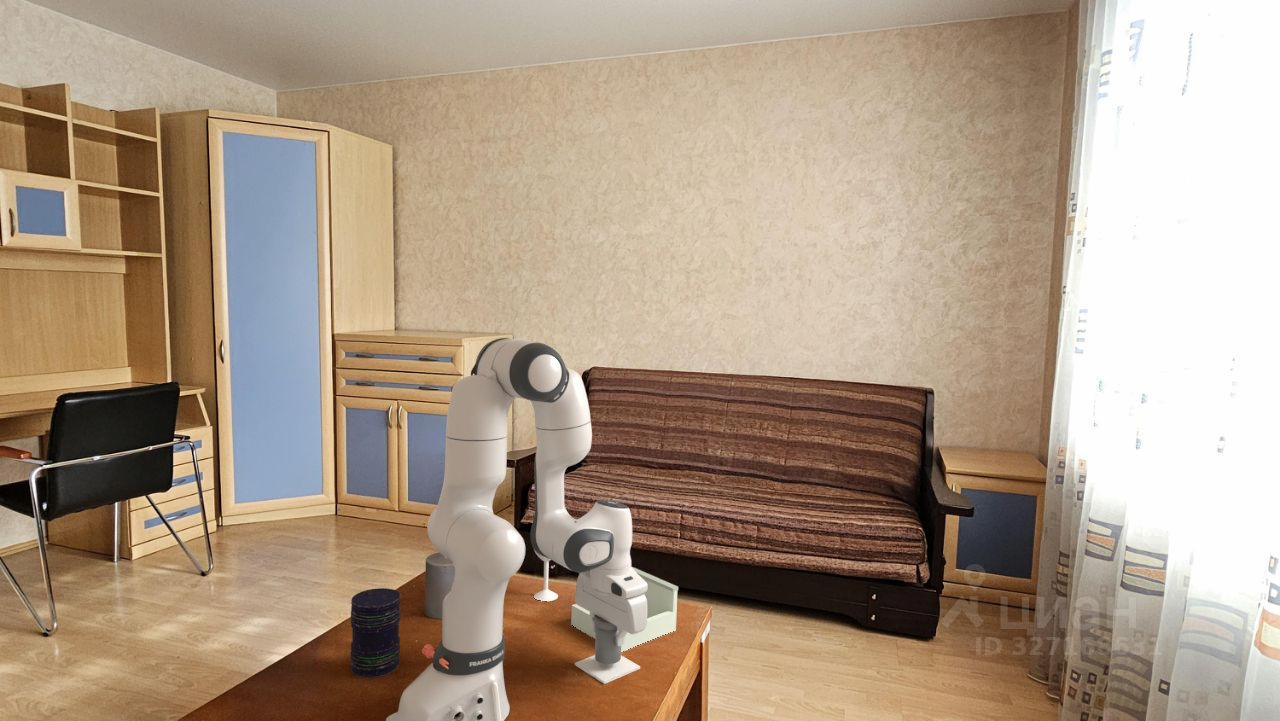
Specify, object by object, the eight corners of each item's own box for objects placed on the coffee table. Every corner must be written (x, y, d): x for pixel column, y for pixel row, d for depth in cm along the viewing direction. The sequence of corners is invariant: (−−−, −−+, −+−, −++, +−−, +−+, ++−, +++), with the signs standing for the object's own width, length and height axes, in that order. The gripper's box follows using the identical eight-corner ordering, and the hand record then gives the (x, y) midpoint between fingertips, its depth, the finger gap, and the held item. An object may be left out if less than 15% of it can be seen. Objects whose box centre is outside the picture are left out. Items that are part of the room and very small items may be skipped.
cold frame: (619, 653, 158) (620, 606, 157) (571, 625, 171) (572, 581, 171) (676, 630, 170) (678, 586, 170) (627, 605, 184) (628, 565, 183)
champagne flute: (563, 596, 188) (565, 508, 187) (544, 603, 183) (547, 513, 181) (546, 589, 193) (548, 503, 191) (527, 596, 187) (529, 507, 186)
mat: (604, 684, 145) (604, 681, 145) (574, 665, 152) (574, 662, 152) (640, 668, 151) (640, 666, 151) (610, 651, 159) (610, 649, 159)
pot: (605, 668, 147) (607, 626, 147) (587, 656, 152) (588, 615, 151) (628, 658, 151) (630, 618, 151) (609, 647, 156) (611, 608, 156)
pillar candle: (422, 606, 179) (422, 548, 178) (460, 600, 183) (461, 544, 182) (427, 622, 171) (428, 562, 169) (468, 616, 175) (469, 557, 173)
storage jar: (410, 663, 151) (411, 595, 150) (371, 683, 142) (372, 611, 141) (378, 650, 156) (379, 584, 155) (339, 669, 147) (340, 599, 146)
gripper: (569, 564, 156) (567, 625, 157) (630, 594, 141) (628, 661, 142) (591, 558, 160) (589, 617, 161) (653, 586, 145) (651, 651, 146)
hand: (608, 638), depth 151 cm, fingers closed on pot, 6 cm apart
